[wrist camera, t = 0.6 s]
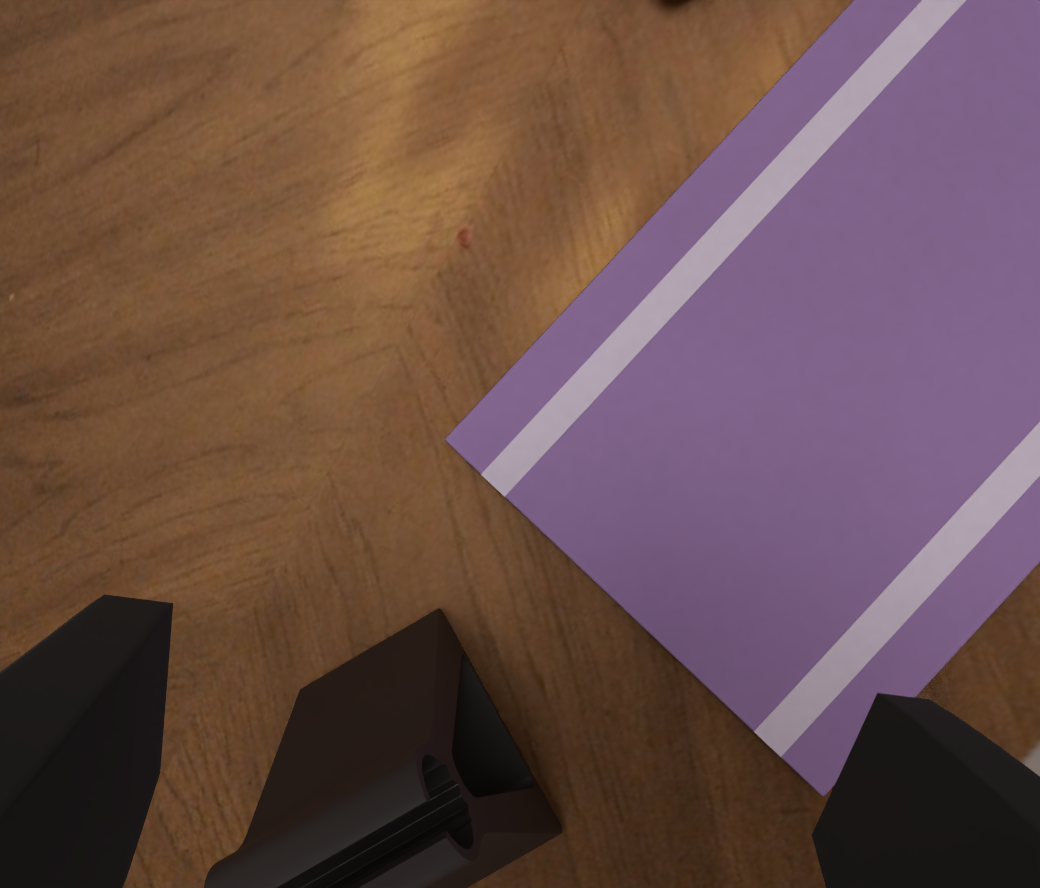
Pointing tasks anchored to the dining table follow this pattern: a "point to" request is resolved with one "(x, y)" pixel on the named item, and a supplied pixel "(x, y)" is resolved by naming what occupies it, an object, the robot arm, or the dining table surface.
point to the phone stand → (392, 778)
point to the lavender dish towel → (811, 381)
